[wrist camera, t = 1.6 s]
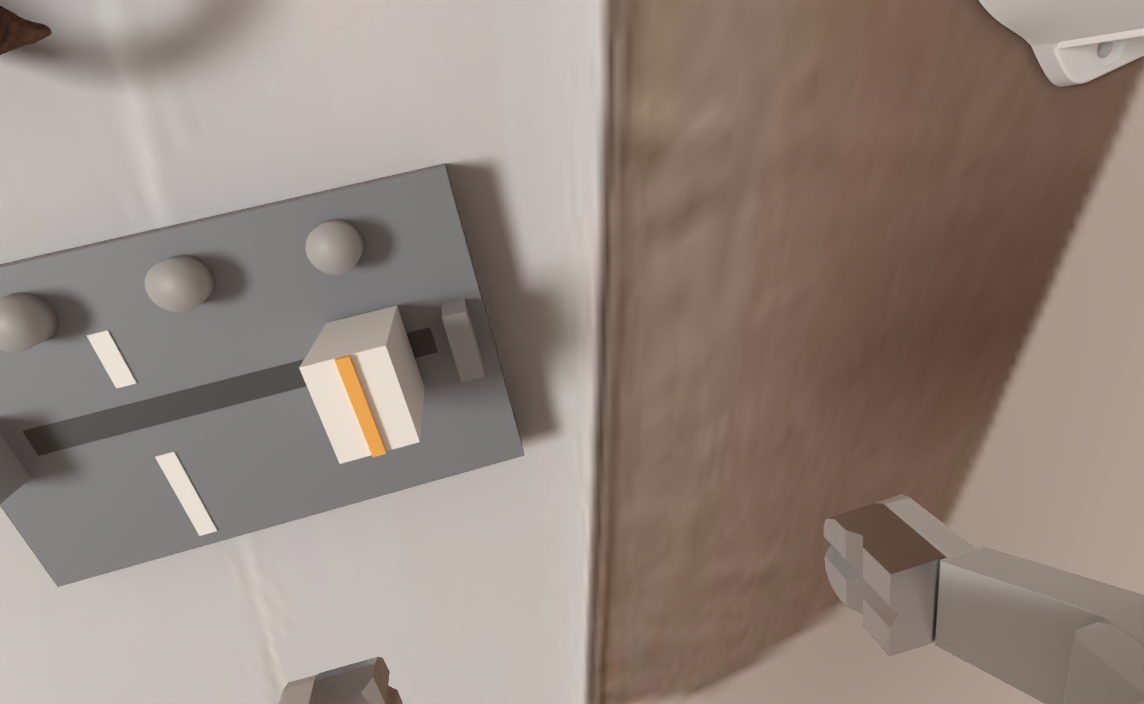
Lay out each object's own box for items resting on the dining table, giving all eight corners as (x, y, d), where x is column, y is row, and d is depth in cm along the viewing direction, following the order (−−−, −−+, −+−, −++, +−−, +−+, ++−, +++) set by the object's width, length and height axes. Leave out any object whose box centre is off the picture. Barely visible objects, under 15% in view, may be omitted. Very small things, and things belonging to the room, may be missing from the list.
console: (445, 163, 26) (444, 170, 22) (519, 436, 31) (529, 477, 28) (-100, 287, 24) (-201, 317, 20) (82, 557, 29) (29, 620, 25)
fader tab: (397, 305, 25) (385, 347, 21) (424, 387, 27) (419, 444, 22) (326, 322, 25) (297, 369, 20) (358, 405, 27) (338, 467, 22)
